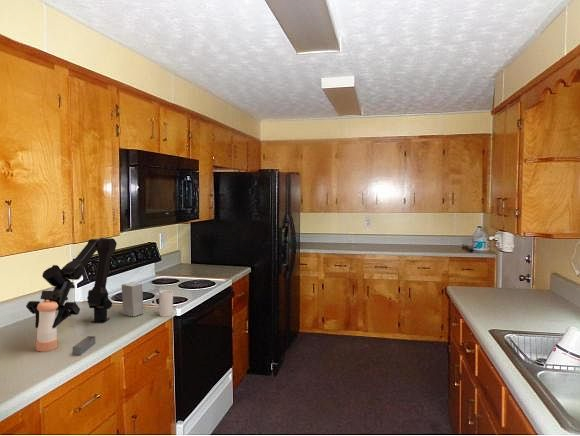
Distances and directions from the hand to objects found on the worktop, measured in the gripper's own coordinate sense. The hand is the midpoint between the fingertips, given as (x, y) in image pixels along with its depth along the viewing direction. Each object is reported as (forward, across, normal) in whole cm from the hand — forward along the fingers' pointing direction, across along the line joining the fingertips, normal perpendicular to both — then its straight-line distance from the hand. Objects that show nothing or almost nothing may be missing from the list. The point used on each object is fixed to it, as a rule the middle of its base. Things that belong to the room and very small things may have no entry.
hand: (44, 327), depth 156 cm
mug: (-28, +31, +40) cm, 58 cm away
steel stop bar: (+5, +14, +7) cm, 17 cm away
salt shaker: (+5, 0, +7) cm, 9 cm away
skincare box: (-27, +16, +40) cm, 51 cm away
